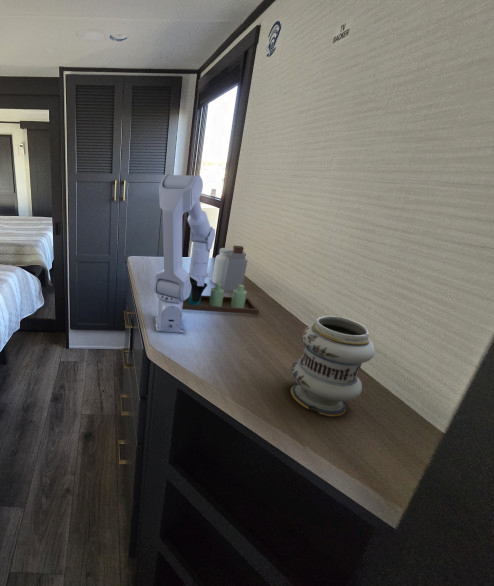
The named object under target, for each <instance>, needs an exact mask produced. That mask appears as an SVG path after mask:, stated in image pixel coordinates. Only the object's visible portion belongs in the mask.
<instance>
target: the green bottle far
mask: <svg viewBox="0 0 494 586" xmlns="http://www.w3.org/2000/svg"><path fill="white" fill-rule="evenodd" d="M247 294H248V291H247V290H245V285H244V284H243V285H238V288H237V289H234V290H233V291H232V296H231V297H232V300H231V305H230V306H231V307H232V308H244V305H245V300H246V298H247Z"/></svg>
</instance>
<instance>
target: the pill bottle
mask: <svg viewBox="0 0 494 586" xmlns="http://www.w3.org/2000/svg"><path fill="white" fill-rule="evenodd" d="M229 250H233V248H229V247H221V248H219V251H218V253H219V254H217V255H216V256H215V258H214V265H213V271H212V279H211V282H212V283H213V284H214V285H216V283H219V284H221V283H222V277H223V271H224V265H225V260H226V255H229Z"/></svg>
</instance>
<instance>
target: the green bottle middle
mask: <svg viewBox="0 0 494 586" xmlns="http://www.w3.org/2000/svg"><path fill="white" fill-rule="evenodd" d="M221 286H222V284H219V283H216V284H214V287H211V289H210V294H209V296H210V300H209V306H216V307H222V302H223V297H225V296H224V295H225V290H224V289H223V288H222V287H221Z"/></svg>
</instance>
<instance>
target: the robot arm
mask: <svg viewBox="0 0 494 586" xmlns="http://www.w3.org/2000/svg"><path fill="white" fill-rule="evenodd" d="M203 189H204V183H203V178H202V177H201V175H200V174H196V175H195V174H194V175H187V174H186V175H185V174H169V173H168V174H165V175H164V176H163V178H162V179H161V181H160V183H159V186H158V194H159V195H158V198H159V199H158V201H159V208H160V209H161V210H162V239H163V240H162V241H163V242H162V243H163V246H162V247H163V267H162V268H160V269H159V270H158V271H157V272H156V273H155V278H154V279H155V280H154V283H153V290H154V292H155V294H157V295H156V297H157V298H158V306H157V307H158V308H157V316H155V317H154V319H155V329H156V330H155V331H156V332H163V333H164V332H165V333H179V334H183V333H184V332H185V331H184V328H182V320H183V319H182V318H183V309H182V307H183V301H185V300H186V299H187V298H188V297H189V295H190V292H191V289H192V301H195V302H199V300H200V297H201V295H203V293H204V291H205V290H206V288H207V287H208V283H206V282H205V280H206V279H207V278H210V277H211V275H210V273H208V266H209V261H210V260H209V259H210V253H211V249H213V243H214V241H215V237H216V229H214V228H213V226H211V225H210V221H209V217H208V215H207V212H206V211H205V210H202V205H201V202H200V201H201V200H200V198H201V195H202V194H203V193H202V192H203ZM185 213H188V217H187V223H188V225H189V227H190V241H191V242H192V249H191V257H190V265H189V271H188V272H187V270H185V269H184V268H183V216H184V214H185Z"/></svg>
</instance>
